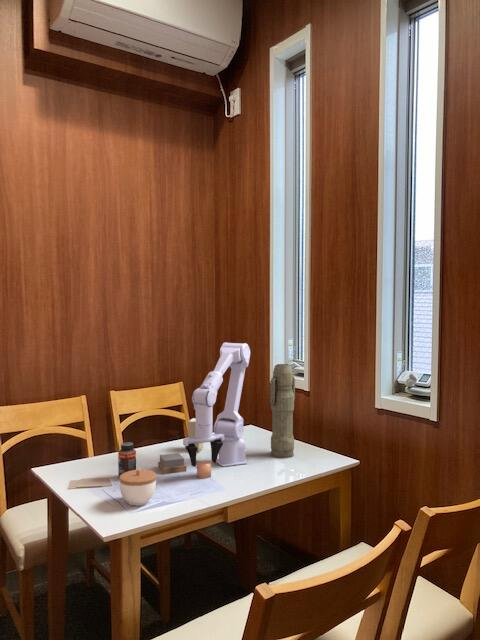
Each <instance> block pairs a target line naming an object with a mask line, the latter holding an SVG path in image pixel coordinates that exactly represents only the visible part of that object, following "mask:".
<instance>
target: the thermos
mask: <svg viewBox="0 0 480 640" xmlns="http://www.w3.org/2000/svg"><path fill="white" fill-rule="evenodd" d="M292 368H293V367H292V366H291V365H290V364H289V363H277V364H276V365H274V367H273V371H272V377H271V379H270V381H269V382H270V383H269V387H270V389H269V395H270V396H269V399H270V401H269V402H270V405H271V406H270V407H271V411H272V412H271V413H272V414H271V415H272V416H271V417H272V418H271V419H272V421H271V422H272V423H271V424H272V425H271V426H272V431H271V433H272V434H271V437H270V449H271V451H270V452H271V453H270V455H271V457H273V458H278V459H289V458H292V457H294V450H295V437H294V434H293V433H294V432H293V431H294V429H293V427H294V425H293V424H294V423H293V422H294V419H293V418H294V416H293V414H294V410H295V401H296V379H295V377H294V375H293V373H294V372H293V369H292Z"/></svg>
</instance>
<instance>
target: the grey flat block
mask: <svg viewBox="0 0 480 640" xmlns="http://www.w3.org/2000/svg"><path fill="white" fill-rule="evenodd" d="M159 462H160V463H161V465H162V466H163V467H164V468H169V467H177V466H184V464H185V458H184V457H183V456H182V454H180V452H176V453H167V454H166V453H165V454H159Z"/></svg>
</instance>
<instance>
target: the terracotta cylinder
mask: <svg viewBox="0 0 480 640" xmlns="http://www.w3.org/2000/svg"><path fill="white" fill-rule="evenodd" d="M211 477H212V461H209V460H199V461H198V462H197V461H196V478H197V479H202V480H203V479H205V480H206V479H209V478H211Z"/></svg>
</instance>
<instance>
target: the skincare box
mask: <svg viewBox="0 0 480 640" xmlns="http://www.w3.org/2000/svg"><path fill="white" fill-rule="evenodd" d="M187 423H188V424H187V425H188V427H187V429H188V433H187V434H188V438H190V437H194V436H196V417H195V418H194V417H193V418H191V419H189V420H188V422H187ZM195 447H197V448H198V449H197V453H200V452H201V451H202V450H203V449H202V448H204V443H199V444H195Z"/></svg>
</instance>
